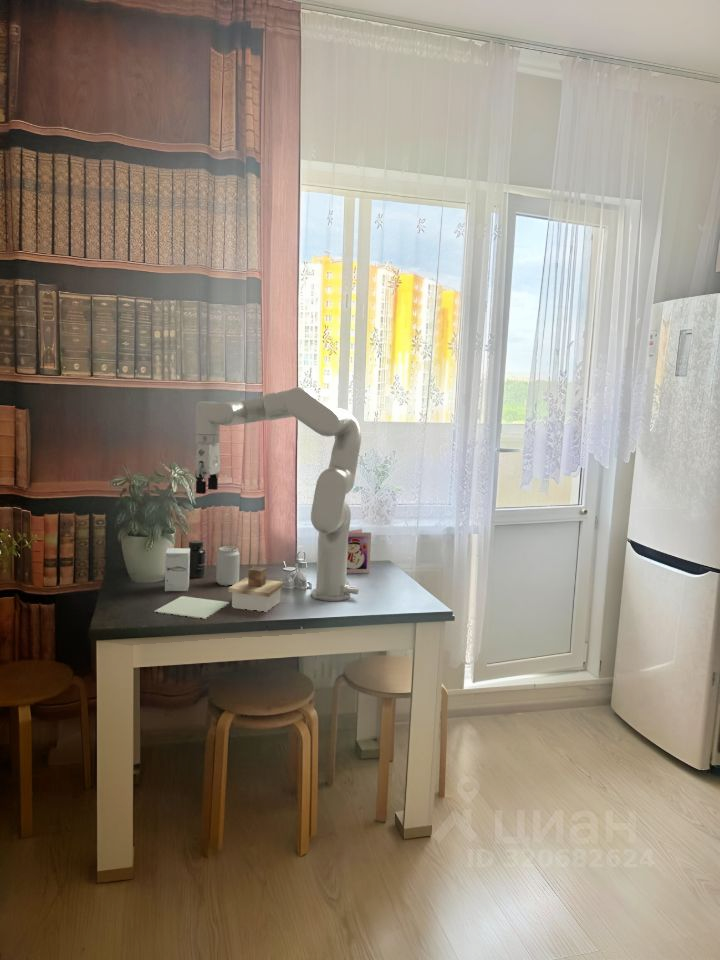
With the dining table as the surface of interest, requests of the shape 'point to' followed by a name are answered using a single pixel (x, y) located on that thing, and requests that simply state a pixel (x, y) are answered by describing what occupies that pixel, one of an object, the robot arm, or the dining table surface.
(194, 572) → the supplement bottle
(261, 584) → the lid
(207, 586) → the dining table surface
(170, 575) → the supplement box
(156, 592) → the dining table surface
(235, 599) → the dish
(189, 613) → the mat
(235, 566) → the can
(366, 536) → the greeting card
